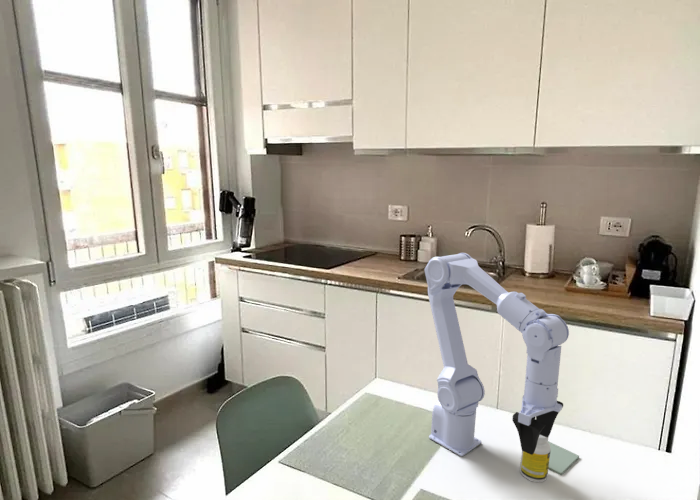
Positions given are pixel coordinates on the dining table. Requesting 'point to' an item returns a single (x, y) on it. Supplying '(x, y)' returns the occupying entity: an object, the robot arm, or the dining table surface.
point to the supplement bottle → (536, 461)
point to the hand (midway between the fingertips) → (535, 443)
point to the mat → (560, 459)
